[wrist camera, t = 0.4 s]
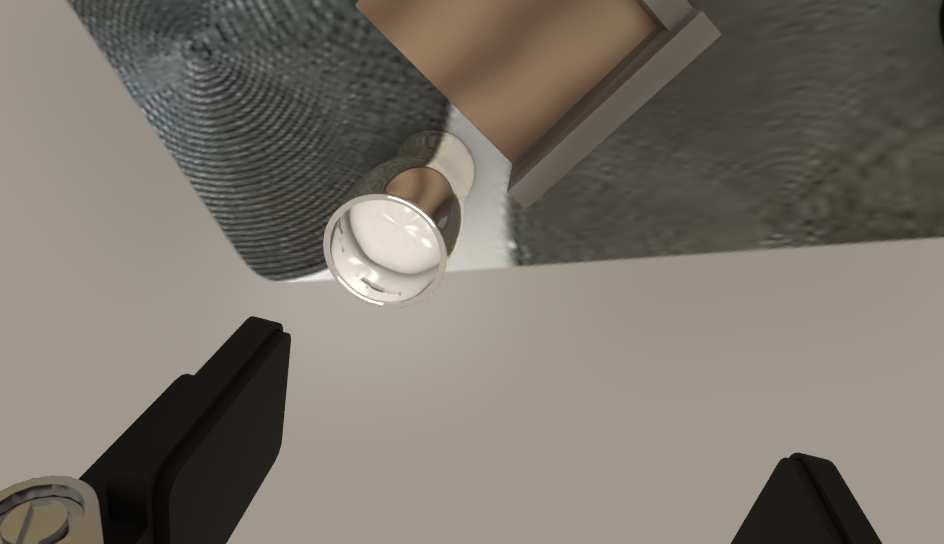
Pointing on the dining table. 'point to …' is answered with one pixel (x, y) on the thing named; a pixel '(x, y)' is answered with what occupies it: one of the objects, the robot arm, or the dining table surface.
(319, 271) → the dining table surface
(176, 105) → the dining table surface
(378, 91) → the dining table surface
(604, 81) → the wooden corner tray
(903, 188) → the dining table surface
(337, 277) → the beer glass
